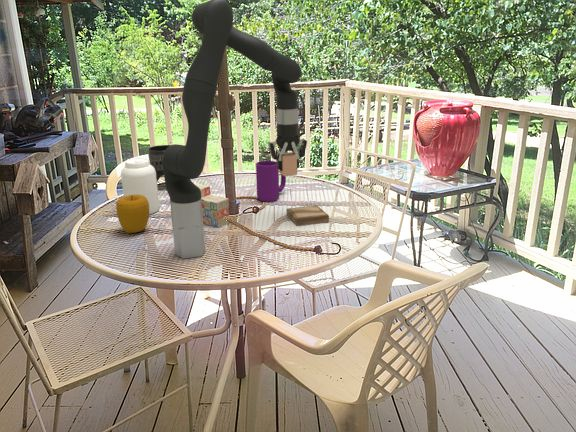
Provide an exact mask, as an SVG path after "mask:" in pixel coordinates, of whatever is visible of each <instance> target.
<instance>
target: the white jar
mask: <svg viewBox="0 0 576 432" xmlns="http://www.w3.org/2000/svg"><path fill="white" fill-rule="evenodd" d="M120 177H121V185H122V194H123V197H125V196H129V195H142V196H144V197H146V198H147V200H148V203H149V215H153V214H155V213H157V212H158V211H159V210H160V202H159V201H160V199H159V188H158V182H157V179H156V171H155V169H154V167H153V166H151V165H150V162H149V158H148V159H147V158H141V157H140V158H139V157H138V158H137V157H136V158H130V159H128V160H125V162H124V167H123V168H122V169H121V173H120Z"/></svg>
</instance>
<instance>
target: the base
mask: <svg viewBox="0 0 576 432" xmlns="http://www.w3.org/2000/svg"><path fill="white" fill-rule="evenodd" d="M286 216H287V217H288V218H289V219H290V221H292V222H293V223H294V225H295V226H296V227H299V226H307V225H316V224H326V223H330V221H329V220H330V216H329V214H328V213H327V212H326V211H324V210H323V208H321V207H320V206H319V205H308V206H300V207H299V206H298V207H297V206H296V207H291V208H289V207H288V208H286Z"/></svg>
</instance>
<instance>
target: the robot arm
mask: <svg viewBox="0 0 576 432" xmlns="http://www.w3.org/2000/svg"><path fill="white" fill-rule="evenodd" d="M191 22H192V24H193V26H194V28H195V29H196V31H198V33H200V34H201V35H203V37H202V38H203V39H202V42H201V45H200V47H199V50H198V52H197V54H196V56H195V57H194V59H193V61H192V63H191V64H190V66H189V69H188V70H187V73H186V74H185V75H186V76H185V79H184V84H183V90H182V95H181V101H182V106H183V111H184V114H185V116H186V120H187V126H188V127H187V129H188V130H187V138H186V142H185V145H183V144H178V143H176V144H169V145H170V146H169V147H167V149H166V150H165V152H164V155H163V172H164V176H163V178H164V184H165V189H166V192H167V195H168V196H169V205H170V216H171V224H172V225H171V226H172V235H173V245H174V247H173V248H174V253H175V256H177V257H180V258H181V259H189V258H190V259H191V258H197V257H198V258H199V257H202V256H203V255H204V254H205V253H206V242H205V226H204V224H203V213H202V199H201V190H200V188H199V187H197V186H196V185H195V184H194V183H195V182H193V180H194V179H197V178H198V177H200V176H201V174H202V173H203V171H204V169H205V168H204V167H205V163H206V158H207V157H206V156H207V150H208V149H207V147H208V139H209V131H210V123H211V119H212V113H213V108H214V103H215V101H216V95H217V90H218V84H219V78H220V73H221V69H222V65H223V64H222V63H223V59H224V54H225V51H226V47H228V48H230V49H232V50H234V51H236V52H237V53H239V54H240V55H242V56H244V57H245V58H247V59H248V60H249V61H252V62H253V63H254V64H255V65H257V66H258V67H260V68H261V69H263V70H265V71H269V72H270V74H271V80H272V84H273V89H274V92H275V95H276V112H275V113H276V114H275V115H276V116H275V117H276V119H275V124H276V139H275V140H274V141H268V143H267V145H268V149H269V153H270V155H271V159H273V161H275V160H276V162H277V168H278V169H279V170H280V171H282V156H283V155H284V153H287V152H288V151H289V152H292V153H294V154H296V155H297V170H298V169H299V167H300V159H301V158H305V153H306V150H307V144H308V140H306V139H304V138H303V139H301V138H300V137H299V111H298V94H297V92H296V91H295V90H293V89H292V87H291V85H290V84H295V83H297V82H298V81H299V80H300V79H301V78H302V68H301V66H300V64H299V63H298V62H297V61H295V60H294V59H292V58H290V57H289V56H287V55H285V54H283V53H281V52H279V51H278V50H276V49H274V48H273V47H272V46H270V45H269V44H268V43H267V42H265V41H264V40H263V39H261V38H258V37H257V36H254V35H252V34H250V33H247V32H245V31H242V30H241V29H238V28H236V27H234V26H233V25H234V12H233V9H232V6H231V4H230V3H229V2H228V1H227V0H208V1H205V2H202V3H199V4H198V5H196V6H195V8H194V9H193V11H192V13H191ZM298 145H300V146H299V152H298V148H297V147H298ZM276 146H277V147H278V149H277V153H276V150H275V149H276V148H277V147H276Z"/></svg>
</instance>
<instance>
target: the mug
mask: <svg viewBox="0 0 576 432" xmlns="http://www.w3.org/2000/svg"><path fill="white" fill-rule="evenodd" d="M255 173H256V174H255V176H256V180H255V182H256V197H257V200H258V201H260V202H264V203H272V202H276V201H278V200H279V199H280V193H281V192H283V190H285V187H286V185H287V184H286V181H287V176H283V175H282V174H280V173H279V169H278V168H277V161H275V160H261V161H257V162H256V163H255ZM279 174H280V175H279Z"/></svg>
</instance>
